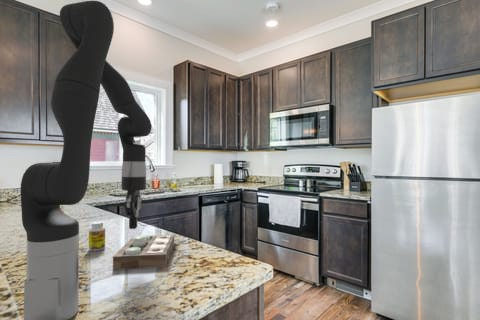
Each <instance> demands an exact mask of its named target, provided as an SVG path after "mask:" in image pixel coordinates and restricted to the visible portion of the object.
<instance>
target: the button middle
mask: <svg viewBox="0 0 480 320" xmlns="http://www.w3.org/2000/svg"><path fill="white" fill-rule="evenodd" d="M132 237H133V236H132ZM132 237H131V238H132ZM145 246H146V237H145V236H142V235H139V236H137V235H136V237H133V238H132V247H145Z"/></svg>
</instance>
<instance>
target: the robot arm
mask: <svg viewBox="0 0 480 320" xmlns="http://www.w3.org/2000/svg"><path fill="white" fill-rule="evenodd" d="M59 20H60V23H61V25H62V28H63V31H64V32H65V34H66V35H67V37H68V38H69V40H70V41H71V43H72V44H73V46H74V47H75V48H76V50H75V51H74V53H73V54H72V55H71V57H69V59H68V60H67V61H66V62H65V64H64V65H63V66H62V67H61V69H60V70H59V72H58V73H57V75H56V77H55V79H54V84H53V89H52V93H51V98H50V107H51V111H52V114H53V116H54V118H55V120H56V123H57V125H58V126H59V128H60V131H61V134H62V137H63V147H62V153H61V154H62V155H61V158H60V159H61V160H60V162H36V163H33V164H32V165H29V167H27V168H26V170H25V171H24V173H23V174H22V178H21V182H20V207H21V209H20V210H21V221H22V222H21V223H22V227H23V229H24V231H25V233H26V281H24V284H23V287H24V288H23V320H70V319H71V318H73V317H75V315H77V314H78V312H79V298H80V297H79V287H80V285H79V283H80V282H79V275H80V271H79V270H80V268H79V267H80V264H79V263H80V260H79V259H80V258H79V257H80V247H79V246H80V224H79V221H78V220H76V218H73V217H71V216H69V215H67V214H66V213H65V212H64V211H63V210H62V208H61V206H72V205H76V204H78V203H80V202H81V201H82V200H83V198H84V197H85V196H86V193H87V189H88V186H89V179H90V171H91V170H90V168H91V167H90V165H91V148H92V139H93V131H94V125H95V119H96V114H97V109H98V103H99V99H100V93H101V92H100V90H101V87H102V89H103V90H104V92H105V94H106V96H107V98H108V101H109V103H110V104H111V107H112V108H113V110H114V112H116V113H118V114H122V115H123V116H122V117H120V119H119V120H118V122H117V132H118V136H119V141H120V144H121V147H122V166H121V188H120V189H121V190H122V191H127V193H126V196H125V201H124V203H123V207H124V209H125V213H126V217H128V220H129V221H128V223H129V225H128V227H129V229H130V230H135V229H137V228H138V217H139V214H140V213H141V207H142V201H143V198H142V195H141V191H144V190H146V188H147V164H146V156H147V155H146V146H145V145H144V144H142V143H137V142H136V141H135V138H136V137H137V138H139V137H141V138H142V137H147V136H148V135H150V133H151V131H152V128H153V127H152V122H151V119H150V117H149V116H148V115H147V114H146V112H145V111H144V110H143V108H142V107H141V106H140V104H139V103H138V102H137V101H136V98H135V96H134V93H133V91H132V90H131V87H130V85H129V83H128V82H127V80H126V78H124V76H123V75H122V74H121V73H120V72H119V71H118V70H117V69H116V68H115V67H114V66H112V65H111V63H109V62H108V61H107V57H108V54H109V50H110V46H111V45H112V40H113V38H114V37H113V36H114V31H115V30H114V29H115V23H114V17H113V14H112V13H111V11H110V9H109V7H108V6H107V5H106V4H105V3H103V2H101V1H100V0H86V1H81V2H80V1H79V2H75V3H69V4H64V5H63V6H62V7H61V9H60V11H59Z"/></svg>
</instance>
